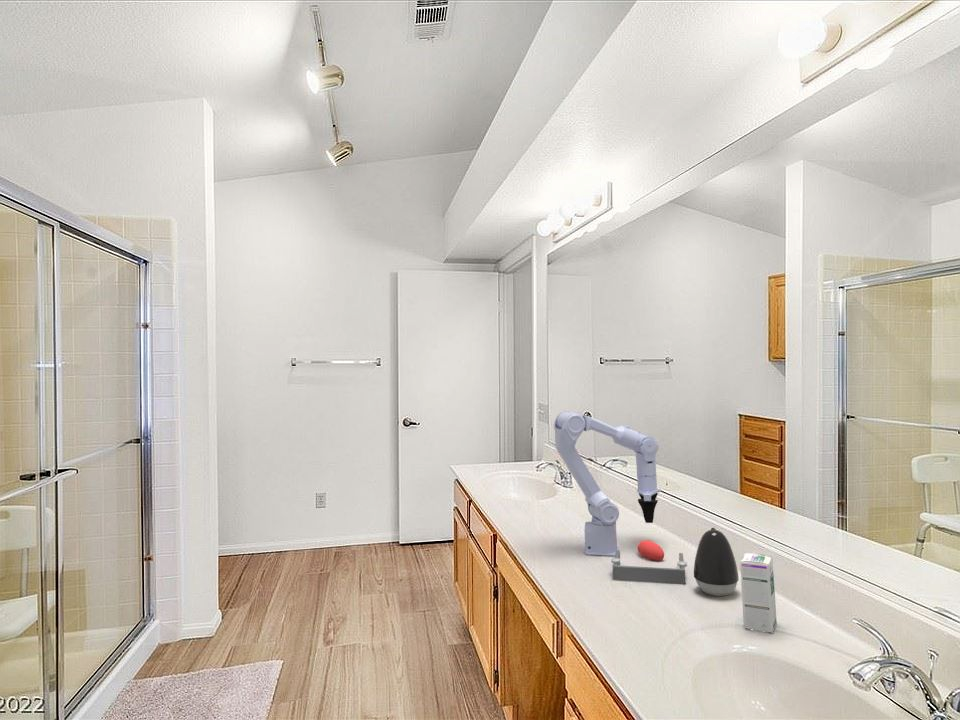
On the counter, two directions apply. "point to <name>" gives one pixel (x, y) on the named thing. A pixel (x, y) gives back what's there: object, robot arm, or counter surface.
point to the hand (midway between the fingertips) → (649, 519)
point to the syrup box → (758, 592)
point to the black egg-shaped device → (715, 564)
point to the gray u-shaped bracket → (649, 572)
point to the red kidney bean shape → (650, 550)
